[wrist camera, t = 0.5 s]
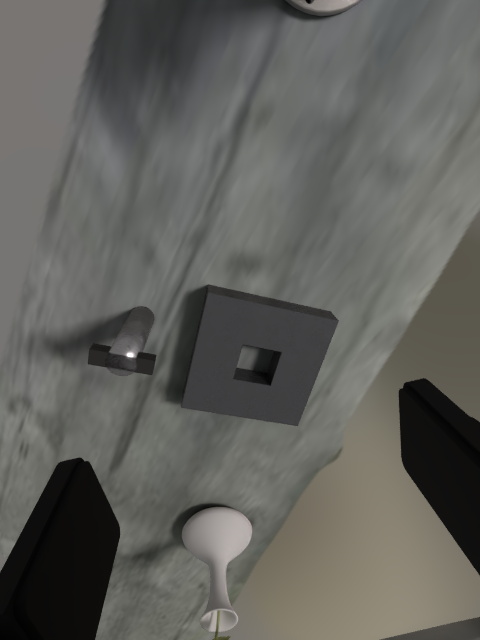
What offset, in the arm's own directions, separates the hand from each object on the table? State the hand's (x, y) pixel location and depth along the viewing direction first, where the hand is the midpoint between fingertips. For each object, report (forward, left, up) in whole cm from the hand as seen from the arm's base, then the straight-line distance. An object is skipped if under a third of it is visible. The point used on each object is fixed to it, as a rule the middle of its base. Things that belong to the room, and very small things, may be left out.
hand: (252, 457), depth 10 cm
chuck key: (+11, -7, -33) cm, 35 cm away
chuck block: (+13, +8, -33) cm, 36 cm away
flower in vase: (+46, +10, -33) cm, 58 cm away
